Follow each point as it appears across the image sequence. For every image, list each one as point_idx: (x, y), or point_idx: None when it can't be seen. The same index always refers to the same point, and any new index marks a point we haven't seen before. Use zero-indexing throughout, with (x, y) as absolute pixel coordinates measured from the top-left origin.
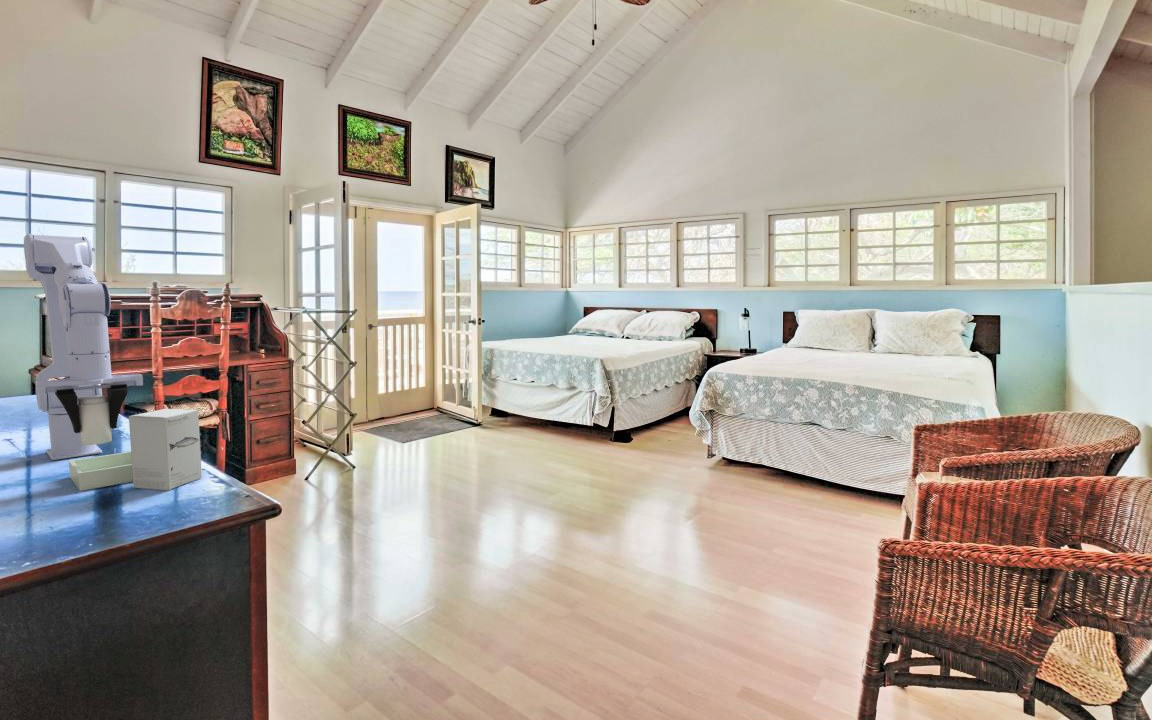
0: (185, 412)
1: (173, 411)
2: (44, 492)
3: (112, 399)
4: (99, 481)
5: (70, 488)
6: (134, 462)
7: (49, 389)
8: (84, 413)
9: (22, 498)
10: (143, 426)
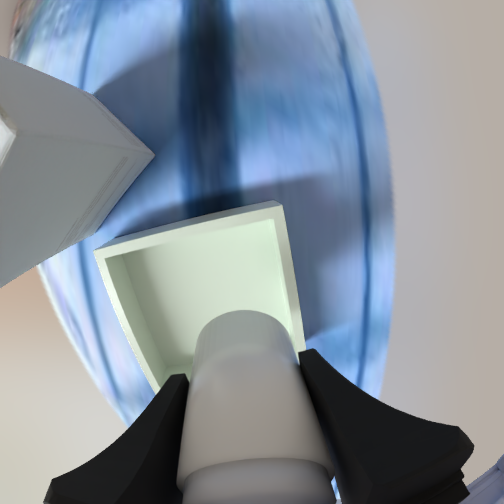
0: None
1: None
2: (342, 236)
3: (133, 474)
4: (231, 210)
5: (295, 241)
6: (123, 140)
7: (488, 488)
8: (295, 413)
9: (376, 209)
10: (15, 86)
